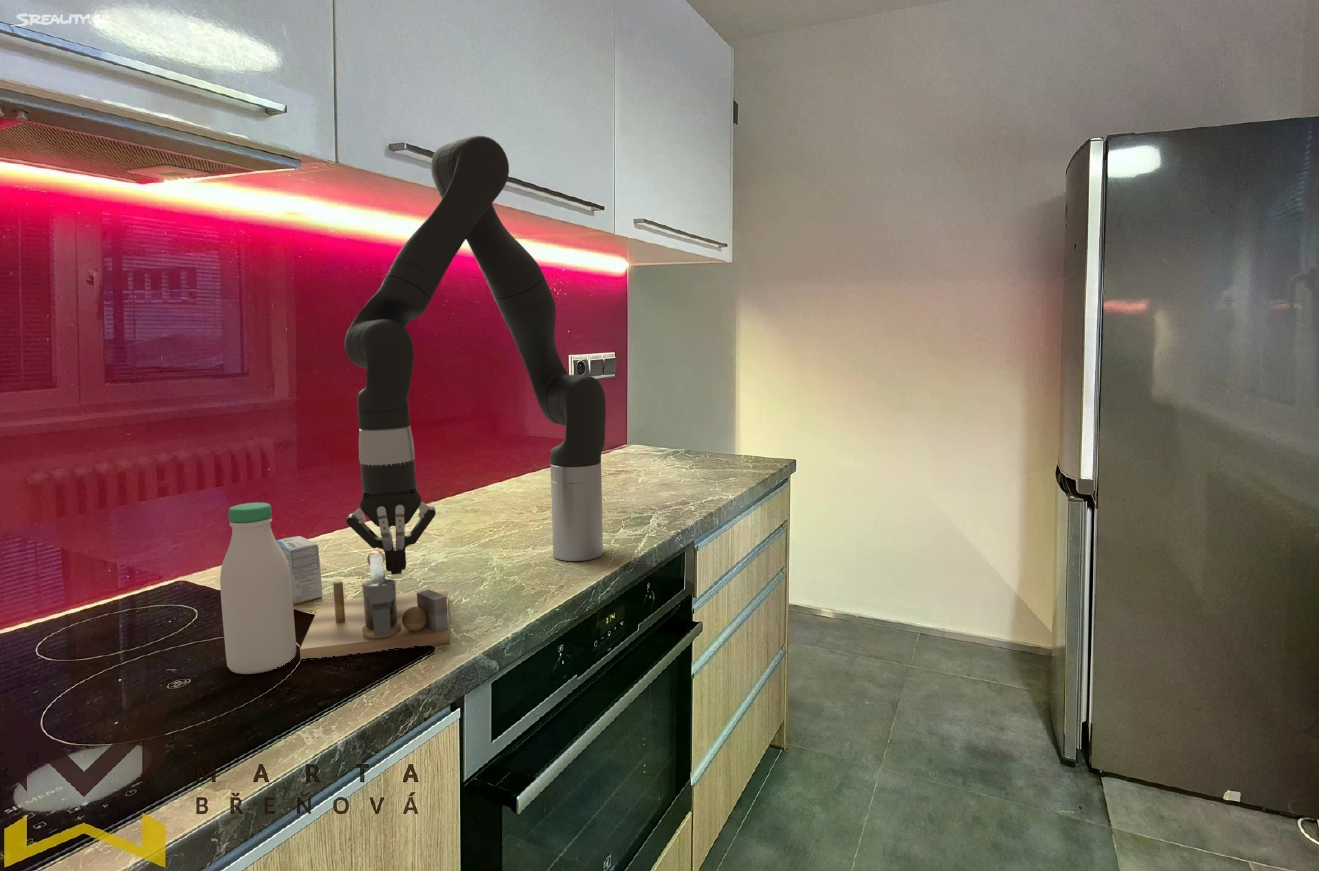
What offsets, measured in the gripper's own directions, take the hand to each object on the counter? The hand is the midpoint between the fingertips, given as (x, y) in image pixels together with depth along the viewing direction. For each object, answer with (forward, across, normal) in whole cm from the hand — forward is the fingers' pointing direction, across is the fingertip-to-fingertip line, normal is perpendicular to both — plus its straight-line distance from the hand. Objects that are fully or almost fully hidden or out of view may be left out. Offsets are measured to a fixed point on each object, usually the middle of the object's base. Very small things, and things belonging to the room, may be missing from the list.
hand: (396, 572), depth 111 cm
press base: (+5, +2, +7) cm, 9 cm away
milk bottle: (+5, +16, +15) cm, 22 cm away
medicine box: (+6, +15, -11) cm, 20 cm away
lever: (+3, +2, +5) cm, 6 cm away
